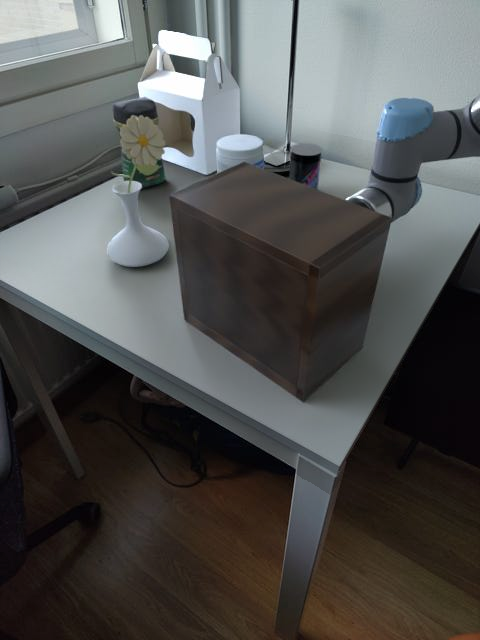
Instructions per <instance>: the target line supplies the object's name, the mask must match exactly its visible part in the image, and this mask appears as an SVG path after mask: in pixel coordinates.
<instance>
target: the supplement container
mask: <svg viewBox="0 0 480 640" xmlns="http://www.w3.org/2000/svg"><path fill="white" fill-rule="evenodd" d="M289 154H290V162H289V170H288V179H291V180H293V181H296V182H299V183H301V184H304V185H306V186H309V187H312V188H314V189H317V190H319V181H320V173H321V163H322V158H323V148H322V147H321V146H319V145H317V144H314V143H298V144H294V145H292V146H291V147H290V151H289Z"/></svg>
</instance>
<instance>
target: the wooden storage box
mask: <svg viewBox="0 0 480 640" xmlns="http://www.w3.org/2000/svg"><path fill="white" fill-rule="evenodd" d="M168 199H169V207H170V216H171V222H172V223H171V224H172V231H173V239H174V247H175V255H176V264H177V269H178V270H177V272H178V279H179V288H180V295H181V304H182V312H183V321H185V322H187V324H189V325H191V326H193V327H194V328H195V329H196V330H198V331H200V332H201V333H202V334H204V335H205V336H207V337H208V338H210V340H213V341H214V342H216V344H218V345H220V346H221V347H223V348H224V349H225V350H227V351H228V352H230V353H231V354H233V355H234V356H235V357H237V358H239V360H242V361H243V362H244V363H245V364H247V365H248V366H250V367H252V368H253V369H254V370H256V371H257V372H259V373H260V374H261V375H262V376H264V377H266V378H267V379H269V380H270V381H272V382H273V383H274V384H276V385H277V386H279V387H280V388H282V389H283V390H284V391H287V393H289V394H290V395H292V396H293V397H295V398H296V399H297V400H299V401H300V402H302V403H305V402H306V401H307V400H308V399H309V398H310V397H312V396H313V395H314V394H315V393H316V392H317V391H318V390H319V389H320V388H321V387H322V386H323V385H324V384H326V383H327V382H328V381H329V380H330V379H331V378H332V377H333V376H334V375H335V374H336V373H337V372H338V371H340V369H341V368H343V367H344V366H345V365H346V364H347V363H348V362H349V361H350V360H351V359H353V357H354V356H356V354H358V353H359V352H360V351H361V350H362V349H363V347H364V343H365V339H366V334H367V329H368V325H369V321H370V316H371V312H372V307H373V304H374V300H375V296H376V295H375V294H376V290H377V286H378V285H377V284H378V282H379V277H380V273H381V269H382V264H383V260H384V255H385V251H386V248H387V247H386V246H387V244H388V243H387V242H388V238H389V233H390V229H391V226H392V225H391V224H392V223H391V221H392V218H391V217H389V216H386V215H383V214H381V213H378V212H375V211H373V210H370V209H367V208H365V207H362V206H359V205H357V204H354V203H351V202H349V201H346V200H345V199H343V198H341V197H338V196H335V195H333V194H330V193H328V192H325V191H322V190H320V189H318V190H317V189H314V188H312V187H309V186H306V185H304V184H301V183H299V182H296V181H293V180H291V179H289V177H285V176H282V175H281V174H277V173H274V172H272V171H269V170H268V169H265V168H264V169H262V168H259V167H256V166H254V165H251V164H249V163H246V162H243V163H240V164H238V165H236V166H233V167H231V168H229V169H226V170H224V171H222V172H220V173H215V174H213V175H210V176H208V177H206V178H204V179H201V180H199V181H197V182H194V183H192V184H190V185H187V186H185V187H183V188H180V189H178V190H176V191H174V192H171V193H169V194H168Z"/></svg>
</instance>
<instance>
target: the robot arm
mask: <svg viewBox="0 0 480 640" xmlns="http://www.w3.org/2000/svg"><path fill="white" fill-rule="evenodd" d="M466 158H480V94H478V95H477V96H476V97H475V98H474V99H472V100H471V101H470V102H469V103H468V104H467V105H466V106H464V107H462V108H457V109H446V110H439V111H438V110H437V111H435V109H434V106H433V103H431V102H429V101H427V100H424V99H421V98H415V97H412V98H408V97H399V98H398V97H397V98H393V99H391V100H390V101H387V103H386V104H385V105H384V106H383V108H382V112H381V115H380V119H379V122H378V127H377V129H376V139H375V146H374V152H373V159H372V165H371V169H370V173H369V178H368V183H367V185H366V186H365V187H364V188H362V189H360V190H358V191H357V192H356V193H354V194H352V195H350V196H348V197H347V198H345V199H344V200H346V201H349V202H351V203H354V204H357V205H359V206H362V207H365V208H367V209H370V210H373V211H375V212H378V213H381V214H383V215H386V216H389V217H391V218H392V221H391V224H392V223H394V222H395V221H398V219H400V218H402V217H404V216H406V215H407V214H408V213H409V212H411V210H412V209H413V208H414V207H415V206H417V204H418V203H419V202H420V199H421V197H422V195H423V187H422V181H421V179H420V177H419V172H420V169H421V166H422V164H425V163H433V162H439V161H441V162H442V161H448V160H458V159H466Z"/></svg>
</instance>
